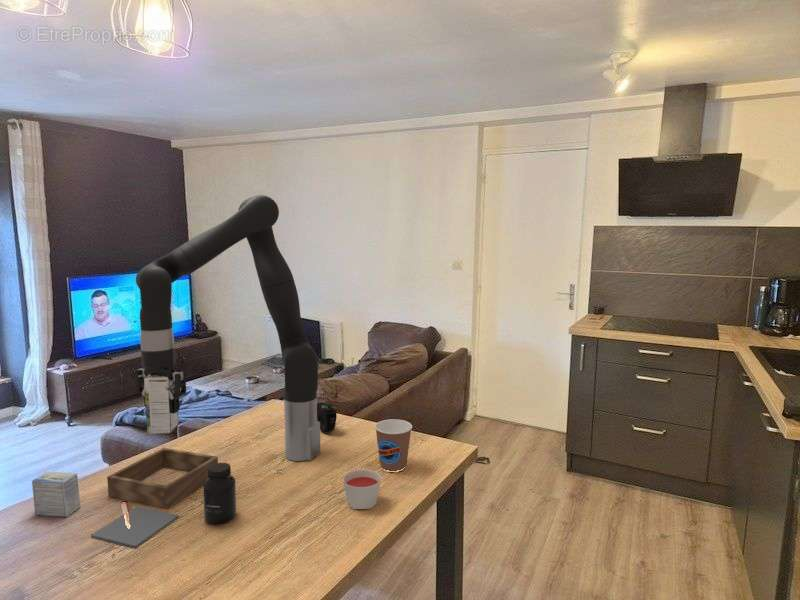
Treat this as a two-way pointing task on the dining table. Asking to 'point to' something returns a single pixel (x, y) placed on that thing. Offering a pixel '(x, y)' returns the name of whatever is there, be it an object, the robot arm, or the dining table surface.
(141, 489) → the walnut crate
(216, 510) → the supplement bottle
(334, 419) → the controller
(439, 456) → the dining table surface
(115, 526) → the mat
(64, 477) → the medicine box
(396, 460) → the coffee cup
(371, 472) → the candle
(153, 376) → the syrup box
